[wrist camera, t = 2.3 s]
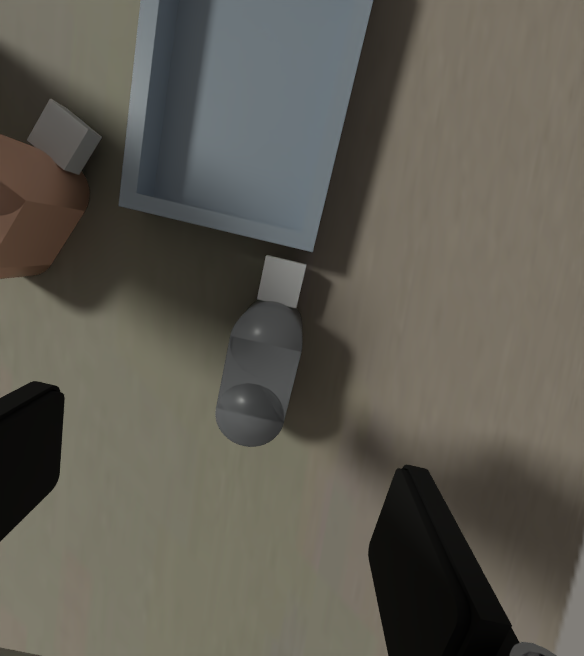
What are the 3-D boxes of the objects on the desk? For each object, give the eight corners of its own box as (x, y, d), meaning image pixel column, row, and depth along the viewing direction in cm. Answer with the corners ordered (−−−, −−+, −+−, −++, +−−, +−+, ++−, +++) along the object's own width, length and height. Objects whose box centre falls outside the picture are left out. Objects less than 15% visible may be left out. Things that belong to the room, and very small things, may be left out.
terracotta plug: (36, 287, 21) (-31, 297, 17) (-15, 249, 21) (-98, 249, 16) (122, 151, 19) (71, 123, 15) (68, 106, 19) (-1, 64, 14)
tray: (311, 251, 20) (312, 252, 17) (143, 211, 20) (118, 206, 17) (378, -31, 17) (393, -85, 14) (180, -83, 17) (156, -147, 14)
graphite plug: (281, 414, 23) (276, 453, 18) (227, 402, 22) (210, 438, 18) (317, 265, 20) (321, 270, 16) (258, 251, 20) (246, 252, 16)
